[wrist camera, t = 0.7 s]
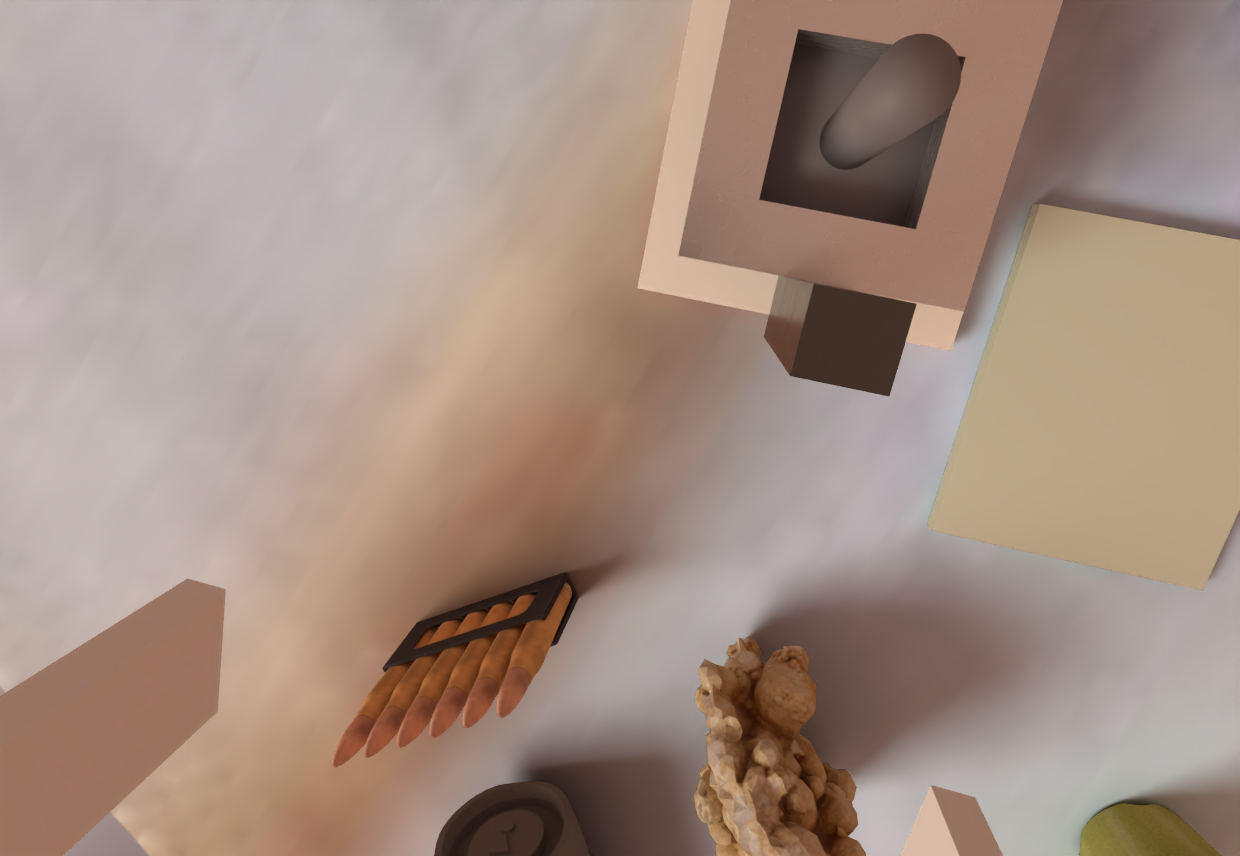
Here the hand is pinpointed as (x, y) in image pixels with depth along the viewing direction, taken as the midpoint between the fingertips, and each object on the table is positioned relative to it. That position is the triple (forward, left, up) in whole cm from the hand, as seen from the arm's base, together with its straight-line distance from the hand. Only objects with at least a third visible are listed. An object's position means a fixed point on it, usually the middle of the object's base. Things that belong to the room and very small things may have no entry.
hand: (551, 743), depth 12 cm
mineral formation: (+16, +10, -27) cm, 33 cm away
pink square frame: (-13, +6, -22) cm, 26 cm away
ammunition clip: (+14, -7, -27) cm, 31 cm away
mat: (-6, +23, -27) cm, 35 cm away
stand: (-15, +6, -27) cm, 31 cm away
